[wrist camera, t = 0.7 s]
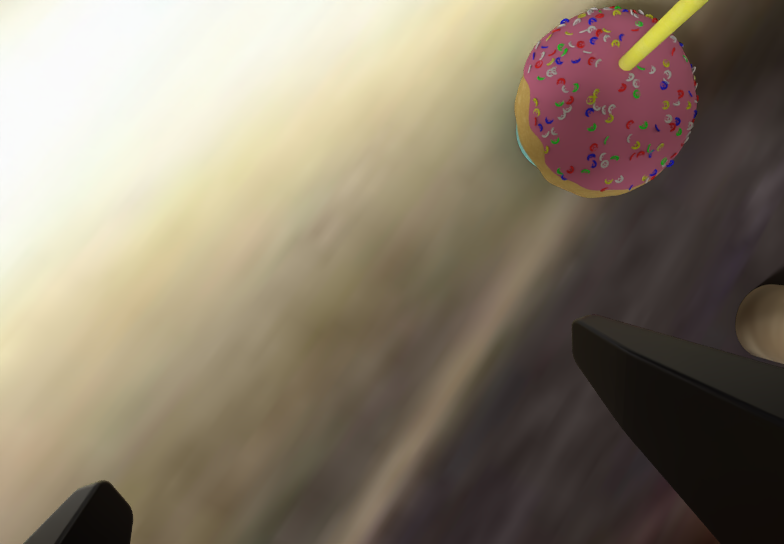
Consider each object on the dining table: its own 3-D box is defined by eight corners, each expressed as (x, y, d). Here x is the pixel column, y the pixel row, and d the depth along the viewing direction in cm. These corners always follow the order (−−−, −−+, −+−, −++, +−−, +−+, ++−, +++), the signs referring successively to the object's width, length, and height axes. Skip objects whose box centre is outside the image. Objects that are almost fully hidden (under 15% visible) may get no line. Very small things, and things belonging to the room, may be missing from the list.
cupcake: (456, 116, 23) (576, -15, 12) (568, 23, 24) (794, -195, 12) (545, 233, 25) (737, 225, 13) (650, 143, 25) (931, 53, 13)
